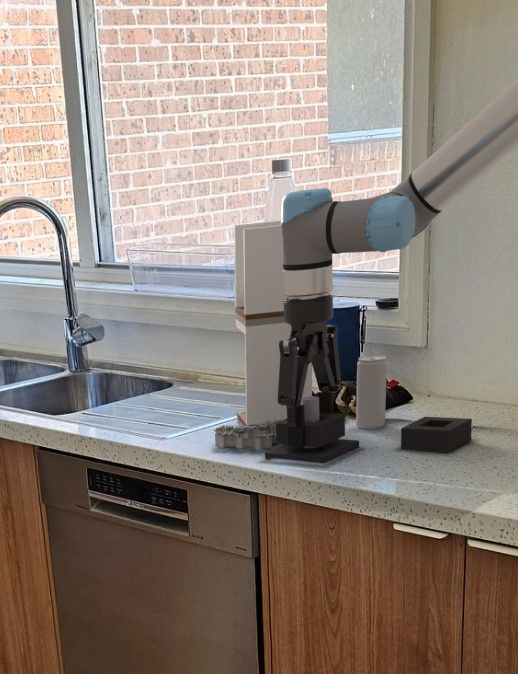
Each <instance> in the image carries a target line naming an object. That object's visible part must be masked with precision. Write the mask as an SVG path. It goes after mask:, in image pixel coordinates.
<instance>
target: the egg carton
mask: <svg viewBox="0 0 518 674" xmlns="http://www.w3.org/2000/svg"><path fill="white" fill-rule="evenodd" d="M280 421H281V420H274V421H272V420H270V421H268V422H267V421H266V422H265V424H264V425H261V424H257V425H256V426H236V427H234V425H228V424H226V425H225V424H222V426H219V427H216V428H215V429H213V431H214V432H215V433H214V442H215V446H216V447H218V448H219V449H220V448H221V449H224V448H227V447H228V448H229V447H235V448H236V449H239V450H240V449H241V450H242V449H243V450H244V449H246V448H252V449H253V448H254V450H260V451H261V450H264V449H271V448H272V447H273V444H276V423H277V422H280Z"/></svg>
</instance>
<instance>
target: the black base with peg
mask: <svg viewBox="0 0 518 674" xmlns="http://www.w3.org/2000/svg"><path fill="white" fill-rule="evenodd" d="M302 403H303V405H304V411H305V422H317V421H319V397H317V396H316V395H312V396H310V397H305V398H303V399H302ZM359 448H360V440H359V439H358V440H357V439H345V438H344V439H343V438H339V439H337V440H334V441H332V442H330V443H328V444H326V445H323V446H321V447H307V446H295V445H283V444H280V445H279V446H277V447H275V448H273V449H269V450H268V451H266V452H264V459H265V460H271V459H279V460H287V461H296V462H307V463H317V464H326V463H328V462H330V461H332V460H335V459H337V458H339V457H341V456H344V455H346V454H348V453H351V452H352V451H355V450H357V449H359Z"/></svg>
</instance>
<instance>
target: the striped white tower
mask: <svg viewBox="0 0 518 674" xmlns="http://www.w3.org/2000/svg"><path fill="white" fill-rule="evenodd" d="M280 224H281V219H279V220H270V221H261V222H252V223H242V224H234V225H233V240H234V241H233V243H234V244H233V245H234V246H233V247H234V249H233V250H234V301H235V302H234V306H235V327H236V329H238V330H240V332H241V333H243V334H244V359H245V360H244V367H245V371H244V373H245V374H244V375H245V411H243V412H237V413H236V421H237V422H236V423H237V424H238V425H239V426H238V427H240V426H256V425H257V424H261V425H264V424H265V422H266V421H267V422H268V421H270V420H272V421H274V420H281V421H282V420H284V419H287V407H286V406H284V405H280V404H278V386H279V369H280V349H279V342H280V340H287V339H289V338H290V333H291V325H290V324H287V323H286V322H285V321H284V301H285V299H286V298H288V296H285V295H284V287H283V253H282V232H281V227H280ZM298 357H299V356H298ZM310 396H313V366H312V362H311V363H310V364H309V365H308V369H307V374H306V380H305V385H304V390H303V395H302V399H303V398H305V397H310ZM284 397H285V396H284ZM301 405H303V403H302V400H301Z"/></svg>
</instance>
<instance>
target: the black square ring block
mask: <svg viewBox="0 0 518 674" xmlns="http://www.w3.org/2000/svg"><path fill="white" fill-rule="evenodd" d="M345 436H346V414H343V413H342V414H341V413H333V414H328V413H319V421H317V422H305V445H304V446H307V447H321V446H323V445H326V444H328V443H330V442H332V441H334V440H337V439H342V438H343V437H345ZM275 444H277V445H288V424H287V419H284V420H282V421H280V422H277V423H276V443H275Z"/></svg>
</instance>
